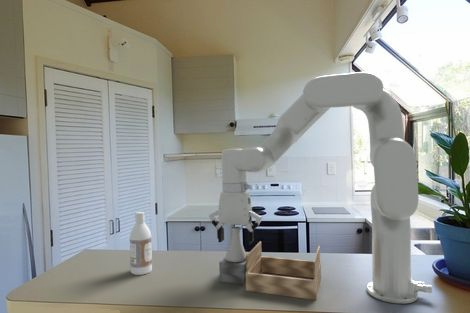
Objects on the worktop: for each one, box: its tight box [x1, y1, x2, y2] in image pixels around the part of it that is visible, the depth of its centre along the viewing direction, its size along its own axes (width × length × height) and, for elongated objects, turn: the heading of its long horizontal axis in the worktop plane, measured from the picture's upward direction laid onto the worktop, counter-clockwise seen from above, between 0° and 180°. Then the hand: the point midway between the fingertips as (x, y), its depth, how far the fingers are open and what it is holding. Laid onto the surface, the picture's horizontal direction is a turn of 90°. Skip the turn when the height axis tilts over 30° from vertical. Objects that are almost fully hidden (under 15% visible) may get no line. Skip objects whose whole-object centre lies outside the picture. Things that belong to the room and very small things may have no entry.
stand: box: [218, 256, 246, 286], centre depth 102 cm, size 8×8×6 cm
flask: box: [225, 225, 247, 262], centre depth 101 cm, size 7×7×10 cm
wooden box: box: [245, 240, 322, 301], centre depth 96 cm, size 20×16×10 cm
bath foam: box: [129, 211, 153, 276], centre depth 109 cm, size 7×7×20 cm
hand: (235, 242), depth 101 cm, fingers open, 9 cm apart
